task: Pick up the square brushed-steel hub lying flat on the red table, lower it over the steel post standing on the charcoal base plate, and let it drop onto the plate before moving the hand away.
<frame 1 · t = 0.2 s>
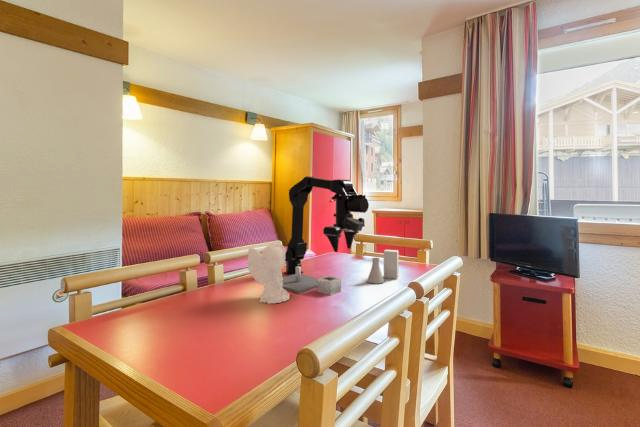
hand: (342, 250, 134), 14 cm above the table, tool pointing down, fingers open, 9 cm apart
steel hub: (329, 291, 127), on the table
skincare box: (390, 278, 147), on the table
flask: (375, 282, 141), on the table
cherub figurine: (271, 299, 119), on the table
post plate: (298, 283, 137), on the table
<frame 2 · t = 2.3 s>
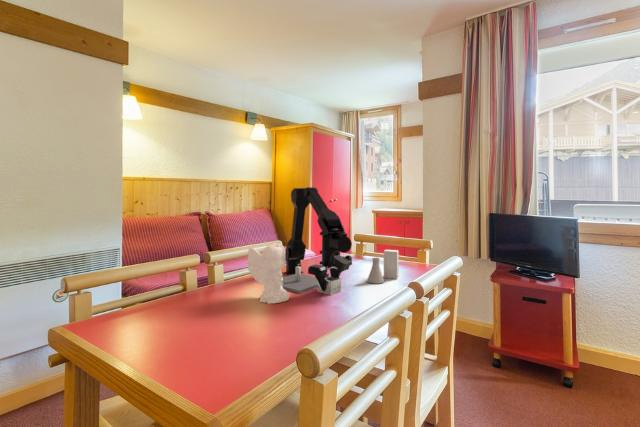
hand: (329, 288, 127), 1 cm above the table, tool pointing down, fingers closed on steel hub, 6 cm apart
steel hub: (329, 291, 127), on the table, touching gripper
everything else where it was.
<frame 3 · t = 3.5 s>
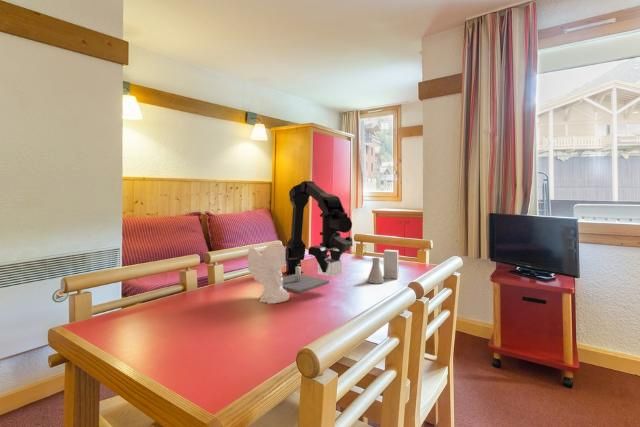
hand: (329, 270, 127), 8 cm above the table, tool pointing down, fingers closed on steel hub, 6 cm apart
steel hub: (329, 273, 127), point 7 cm above the table, touching gripper
everything else where it was.
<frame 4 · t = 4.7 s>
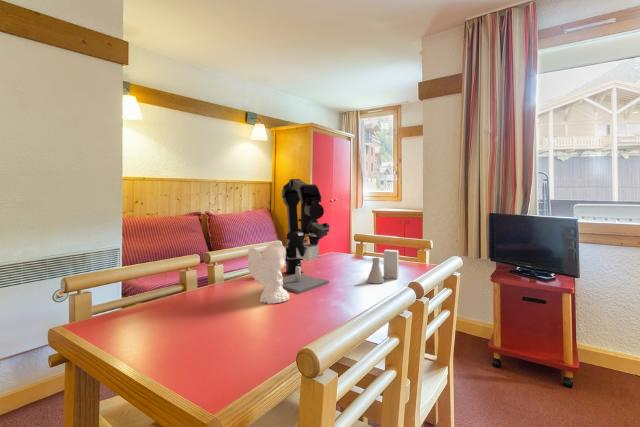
hand: (307, 255, 134), 13 cm above the table, tool pointing down, fingers closed on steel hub, 6 cm apart
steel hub: (307, 257, 134), point 12 cm above the table, touching gripper
everything else where it was.
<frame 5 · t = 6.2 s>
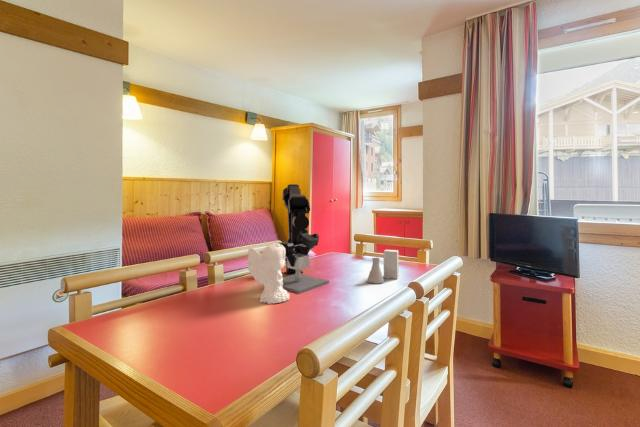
hand: (298, 265, 137), 8 cm above the table, tool pointing down, fingers closed on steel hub, 6 cm apart
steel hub: (298, 267, 137), point 7 cm above the table, touching gripper
everything else where it was.
when the fingers open (5 cm above the table, at t = 7.2 s): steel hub drops 3 cm, resting on post plate.
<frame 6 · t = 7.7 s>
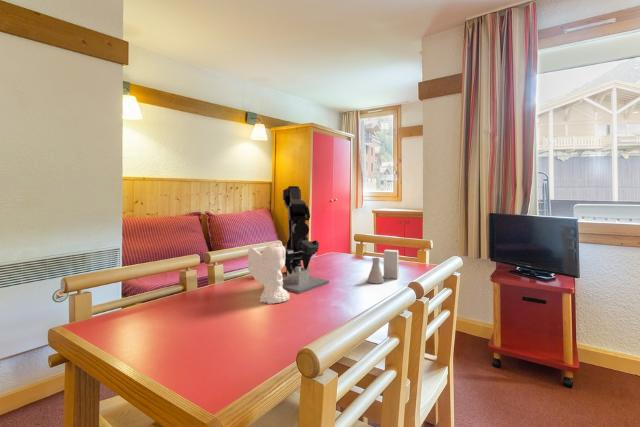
hand: (298, 271, 137), 5 cm above the table, tool pointing down, fingers open, 9 cm apart
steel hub: (298, 281, 137), point 1 cm above the table, touching post plate
everything else where it was.
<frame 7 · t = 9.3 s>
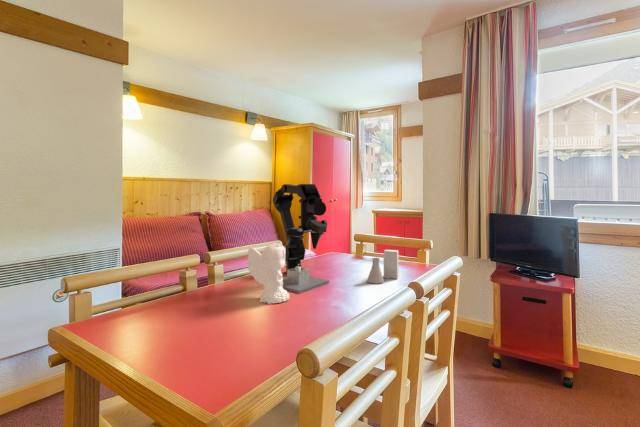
hand: (307, 250, 142), 13 cm above the table, tool pointing down, fingers open, 9 cm apart
nothing on the table moved.
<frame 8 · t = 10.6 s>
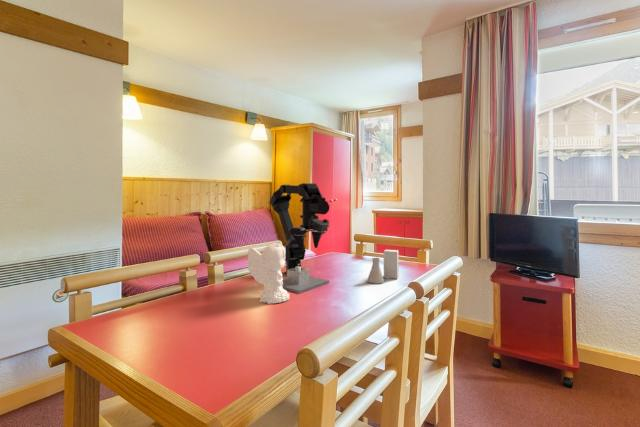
hand: (309, 249, 143), 13 cm above the table, tool pointing down, fingers open, 9 cm apart
nothing on the table moved.
at the end: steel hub 0.0 cm off-centre on the post plate, point 1.0 cm above the post plate's base; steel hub tilted 0°; the gripper is holding nothing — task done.
